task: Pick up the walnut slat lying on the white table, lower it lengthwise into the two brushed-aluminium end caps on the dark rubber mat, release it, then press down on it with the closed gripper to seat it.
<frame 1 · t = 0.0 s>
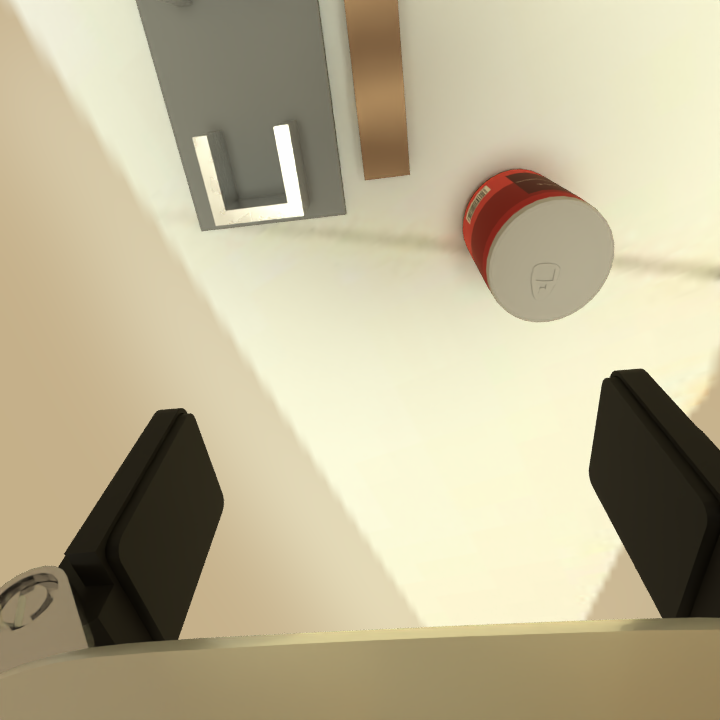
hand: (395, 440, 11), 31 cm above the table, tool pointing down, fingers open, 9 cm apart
mat: (241, 66, 34), on the table
canned food: (507, 218, 40), on the table
slat: (374, 47, 34), on the table
endcap 2: (267, 195, 39), resting on mat
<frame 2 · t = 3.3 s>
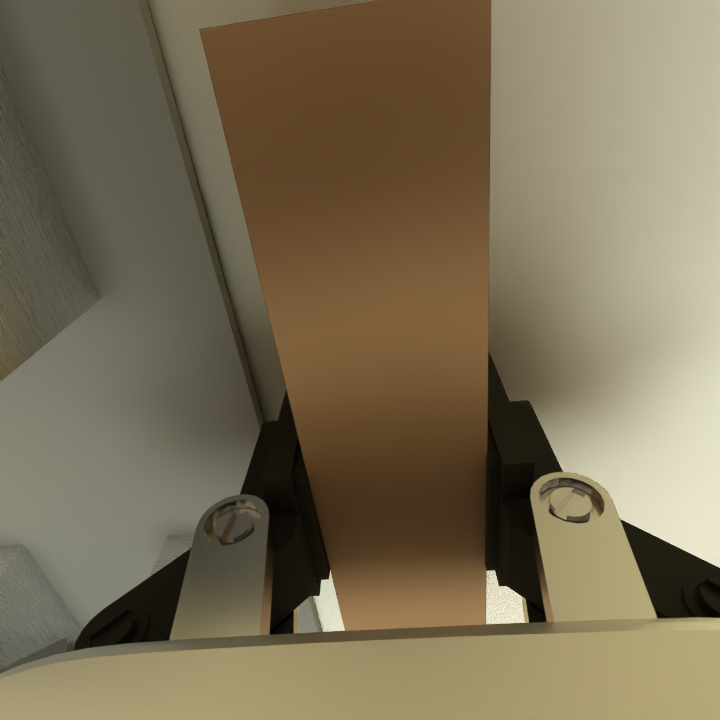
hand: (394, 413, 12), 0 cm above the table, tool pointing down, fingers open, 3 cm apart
mat: (46, 434, 13), on the table
slat: (394, 397, 13), on the table, touching gripper
endcap 2: (150, 634, 17), resting on mat
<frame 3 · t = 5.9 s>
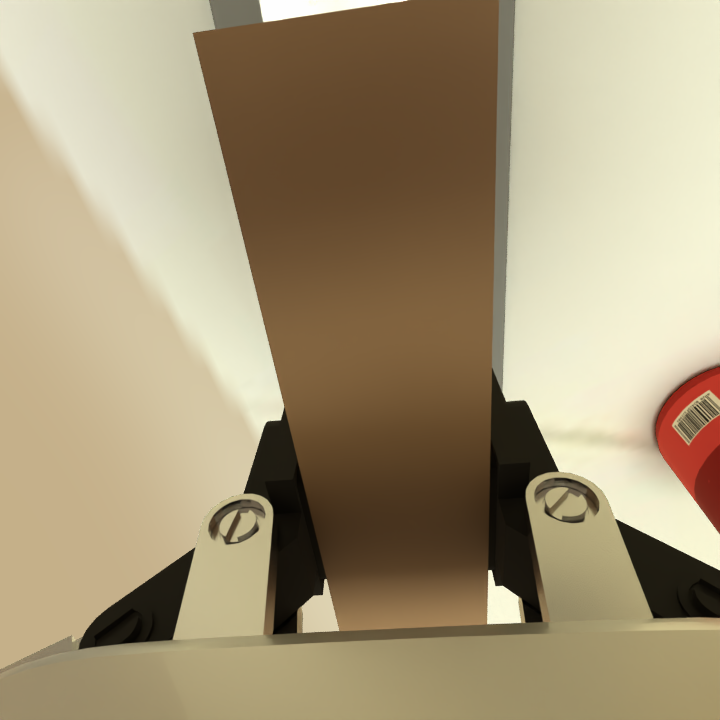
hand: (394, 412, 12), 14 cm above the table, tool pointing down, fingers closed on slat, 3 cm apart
mat: (384, 240, 25), on the table
endcap 1: (364, 30, 20), resting on mat
canned food: (715, 413, 30), on the table
slat: (393, 406, 13), point 14 cm above the table, touching gripper
when the fingers open (3 cm above the table, at t = 8.1 s): slat drops 2 cm, resting on mat.
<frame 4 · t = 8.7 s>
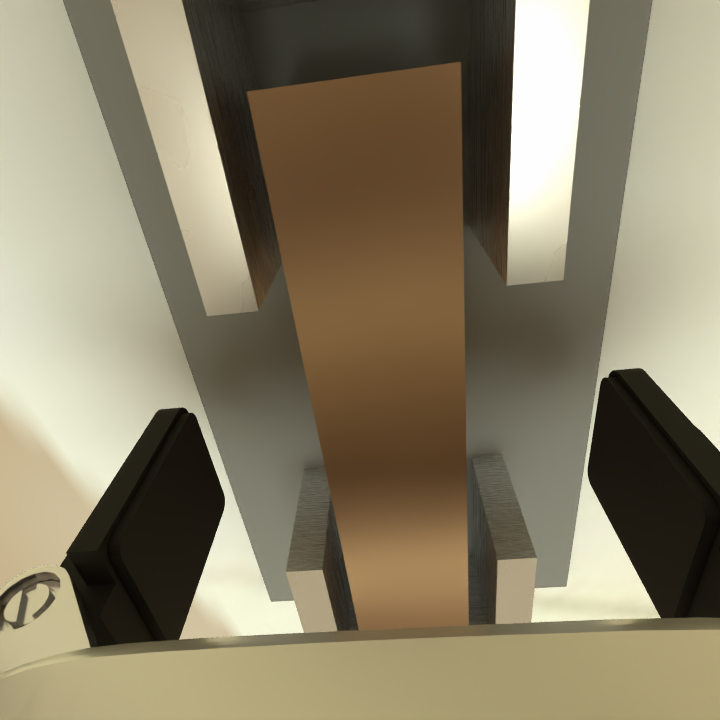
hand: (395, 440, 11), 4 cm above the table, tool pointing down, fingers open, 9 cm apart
mat: (390, 356, 15), on the table
slat: (391, 381, 15), resting on mat
endcap 2: (411, 558, 19), resting on mat
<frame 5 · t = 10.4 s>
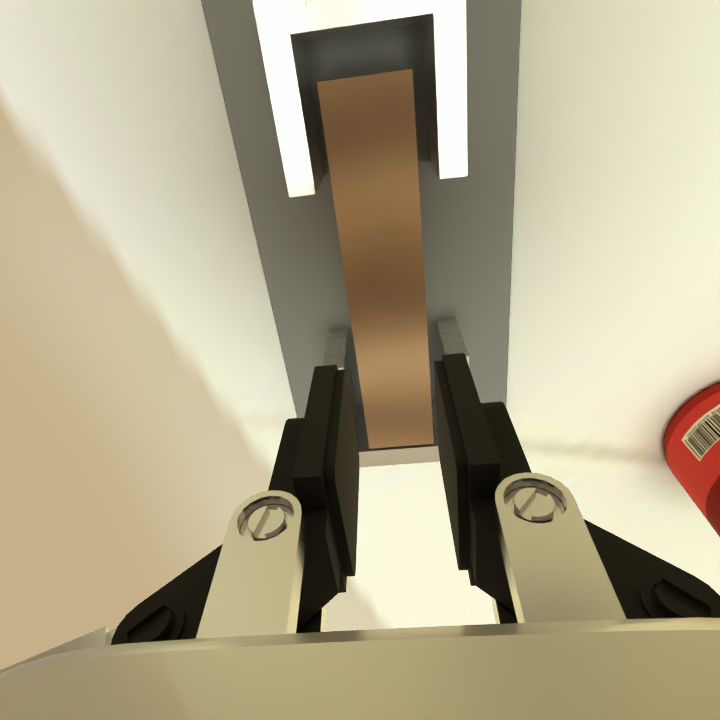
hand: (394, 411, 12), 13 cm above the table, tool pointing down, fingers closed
mat: (384, 249, 24), on the table
endcap 1: (363, 32, 19), resting on mat
slat: (384, 265, 24), resting on mat
endcap 2: (399, 402, 28), resting on mat
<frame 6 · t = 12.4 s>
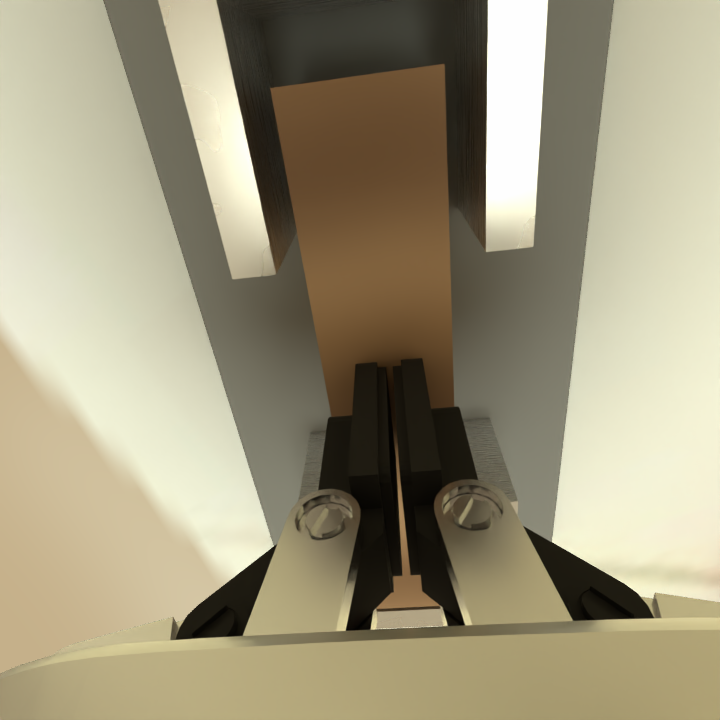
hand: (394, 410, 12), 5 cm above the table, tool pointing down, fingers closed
mat: (389, 327, 16), on the table
endcap 1: (356, 6, 12), resting on mat
slat: (389, 350, 16), resting on mat
endcap 2: (408, 519, 20), resting on mat
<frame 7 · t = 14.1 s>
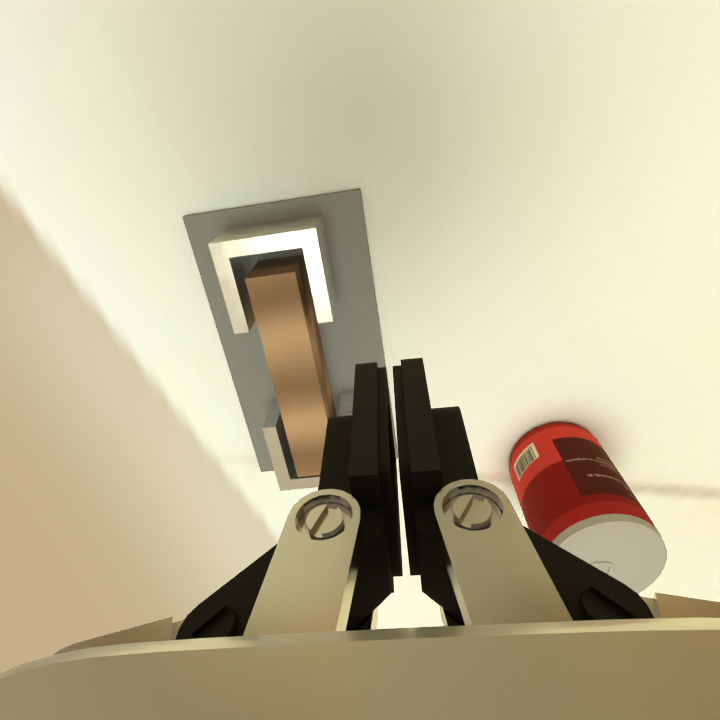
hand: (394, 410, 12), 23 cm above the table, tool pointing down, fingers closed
mat: (303, 349, 37), on the table
endcap 1: (277, 236, 33), resting on mat
canned food: (551, 456, 42), on the table
slat: (304, 359, 37), resting on mat
endcap 2: (324, 444, 41), resting on mat
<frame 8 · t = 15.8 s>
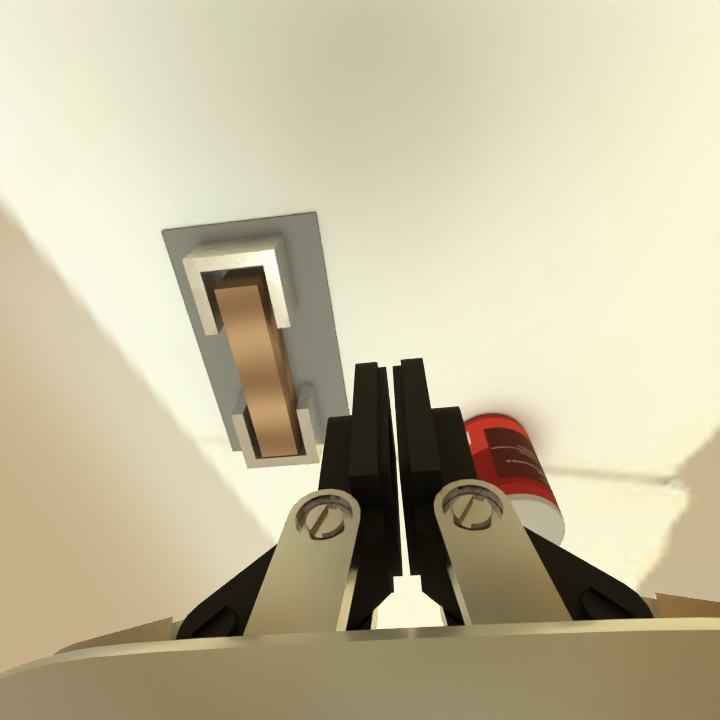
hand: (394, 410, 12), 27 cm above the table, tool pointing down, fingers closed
mat: (269, 346, 43), on the table
endcap 1: (244, 250, 38), resting on mat
canned food: (487, 443, 48), on the table
slat: (269, 355, 43), resting on mat
endcap 2: (288, 428, 47), resting on mat
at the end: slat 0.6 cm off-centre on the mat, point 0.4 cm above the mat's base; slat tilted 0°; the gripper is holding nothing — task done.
